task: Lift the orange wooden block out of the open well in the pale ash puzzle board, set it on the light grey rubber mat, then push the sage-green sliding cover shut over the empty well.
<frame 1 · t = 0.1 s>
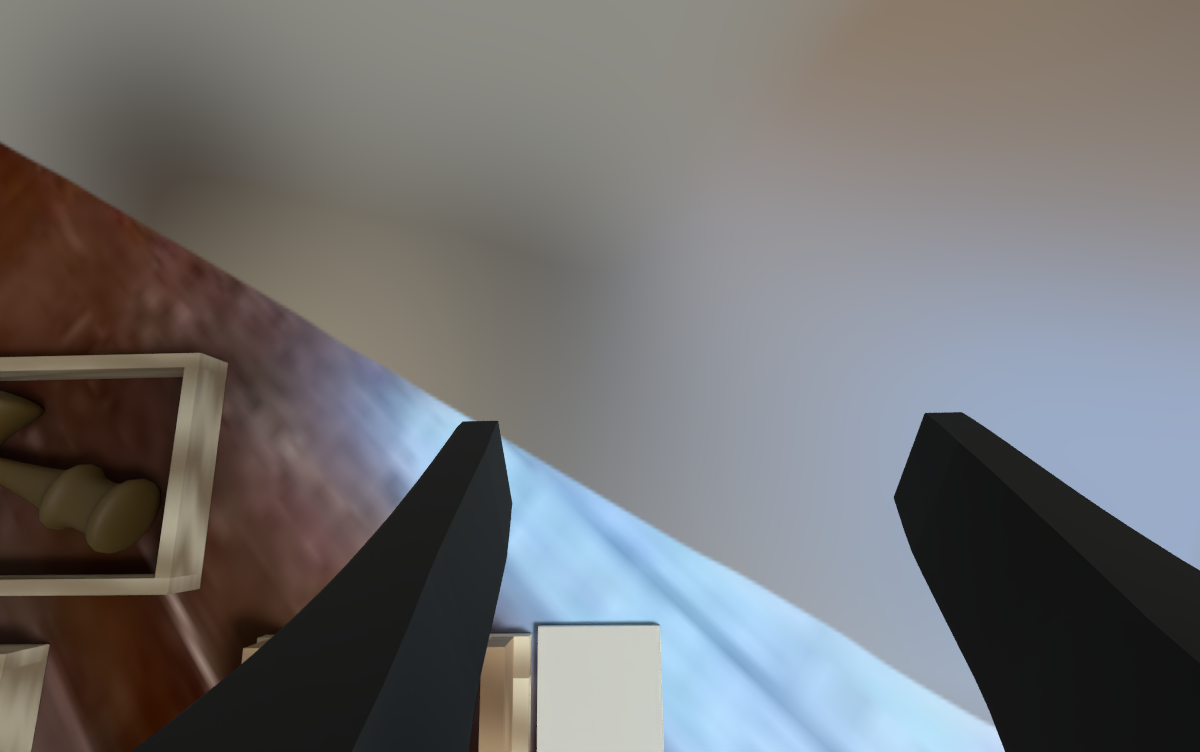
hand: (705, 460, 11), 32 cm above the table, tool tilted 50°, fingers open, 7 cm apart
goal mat: (600, 707, 39), on the table
kendama: (46, 474, 44), on the table
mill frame: (39, 474, 44), on the table
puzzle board: (392, 733, 39), on the table
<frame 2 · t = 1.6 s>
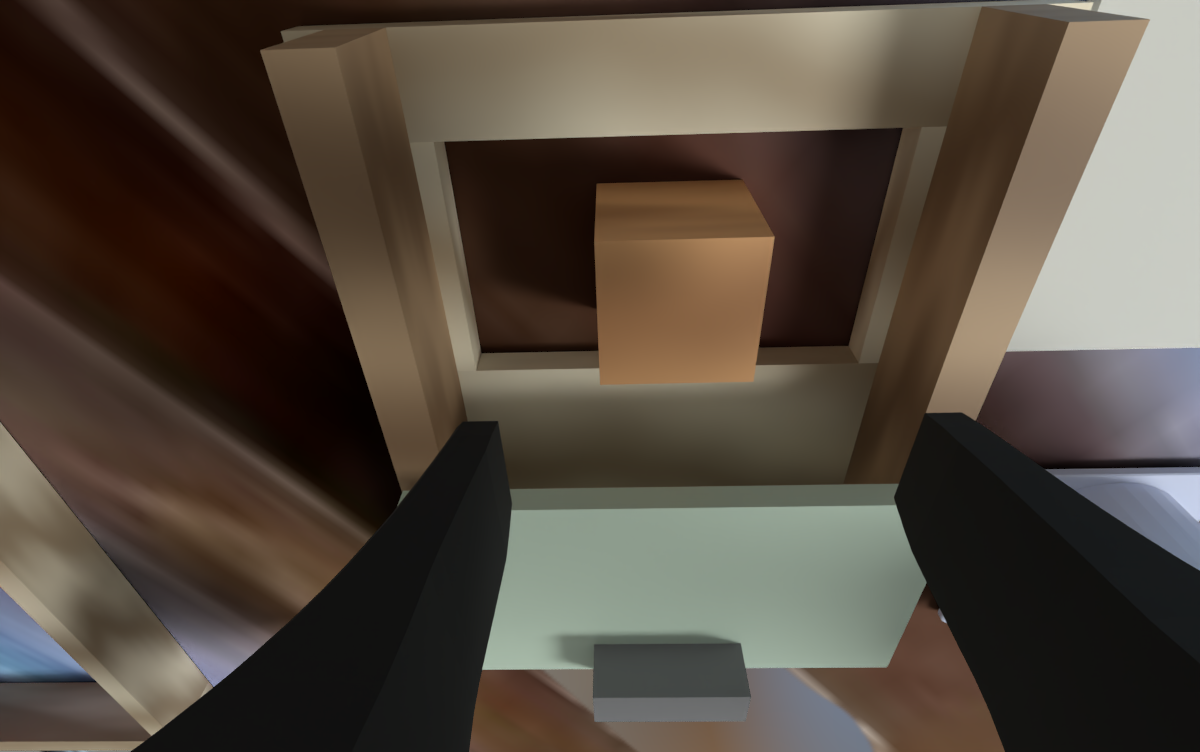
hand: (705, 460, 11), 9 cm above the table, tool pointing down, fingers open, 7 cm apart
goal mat: (1164, 186, 16), on the table
slide cover: (671, 612, 19), point 6 cm above the table, slide at -9.5 cm
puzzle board: (667, 250, 18), on the table
wooden block: (666, 248, 18), on the table
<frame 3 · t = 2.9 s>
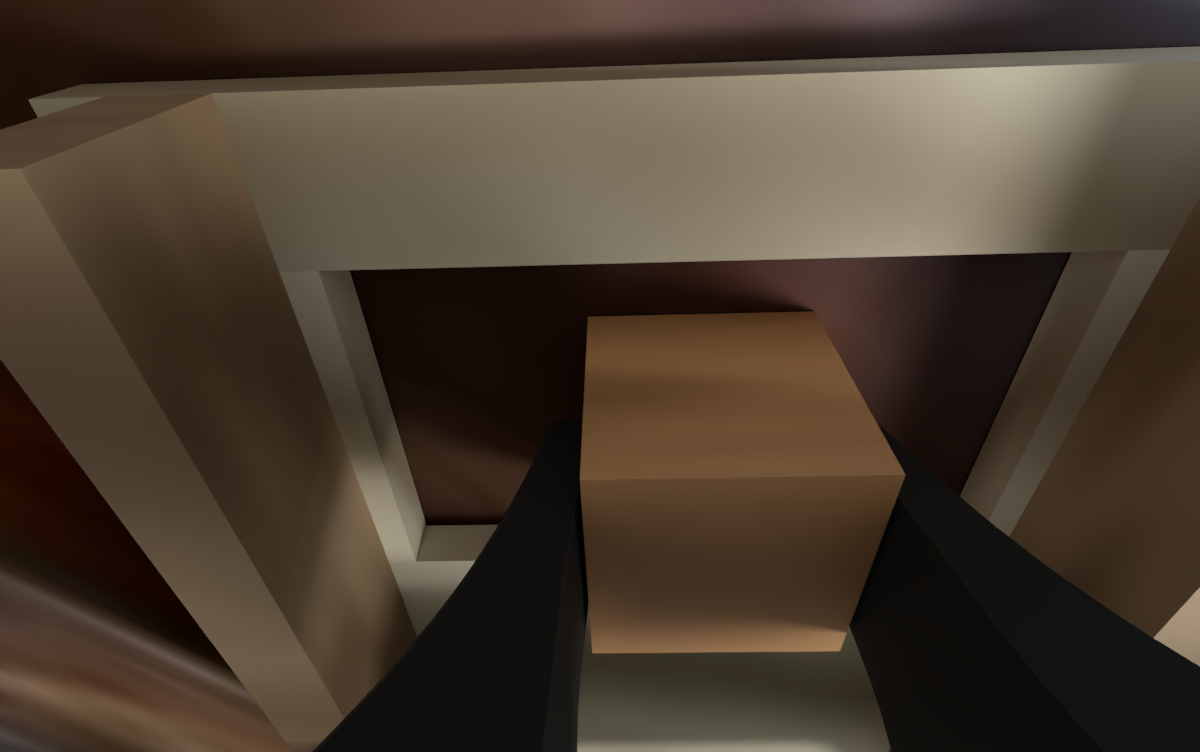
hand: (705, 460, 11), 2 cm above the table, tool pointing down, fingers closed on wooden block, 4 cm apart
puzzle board: (694, 403, 12), on the table
wooden block: (693, 402, 12), on the table, touching gripper
when the fingers open (4 cm above the table, at t = 6.3 s): wooden block drops 1 cm, resting on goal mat.
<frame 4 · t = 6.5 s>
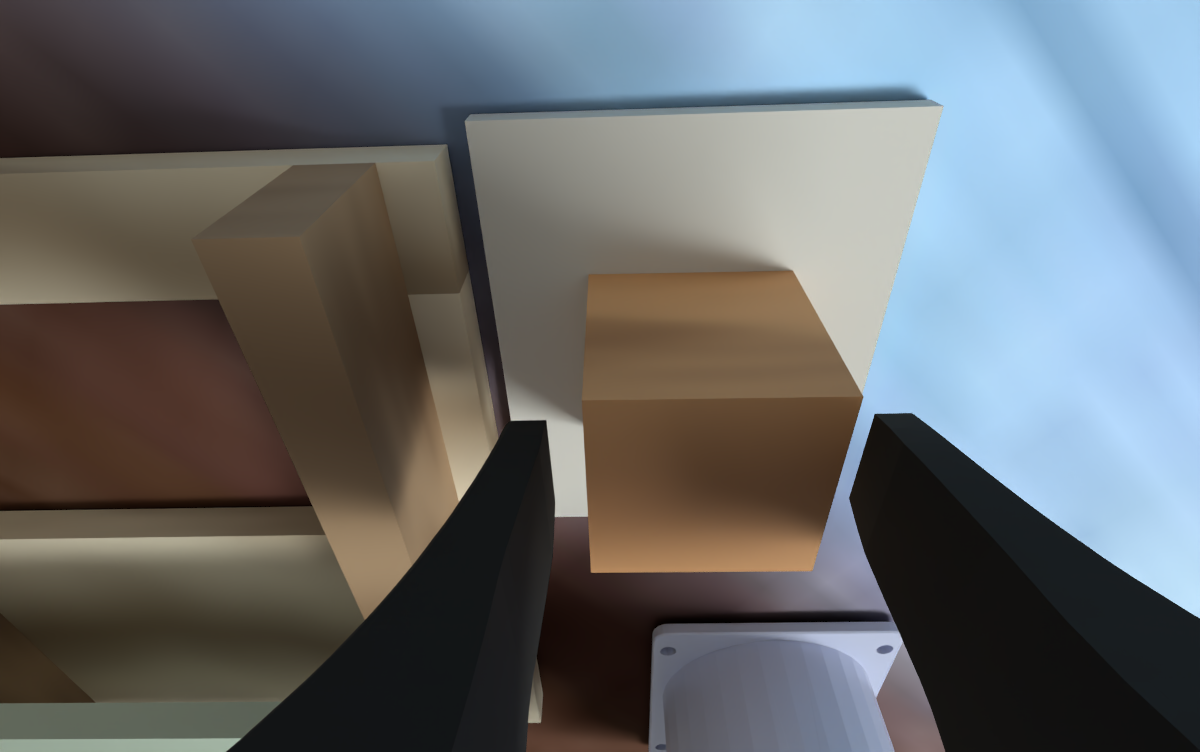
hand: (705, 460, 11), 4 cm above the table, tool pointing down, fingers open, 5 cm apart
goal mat: (683, 346, 13), on the table
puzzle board: (124, 410, 15), on the table
wooden block: (684, 356, 13), resting on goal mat
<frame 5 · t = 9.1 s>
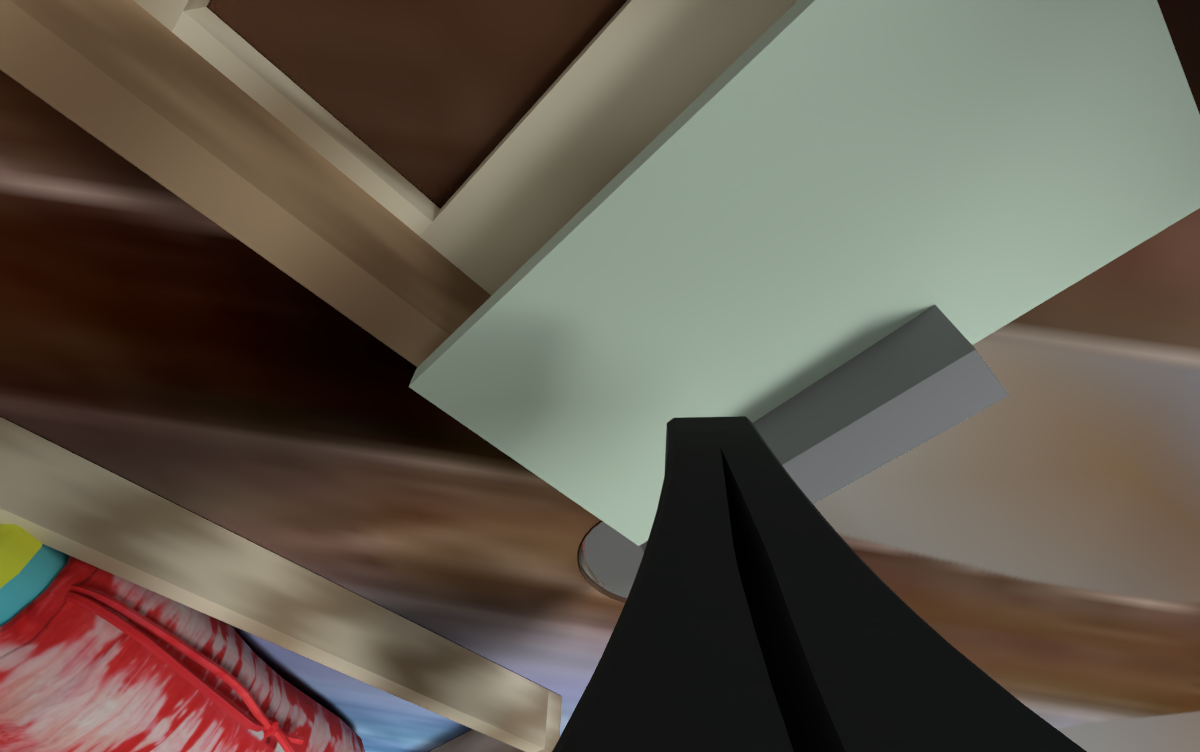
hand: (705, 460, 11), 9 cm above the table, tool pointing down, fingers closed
bottle frame: (226, 648, 31), on the table
slide cover: (778, 310, 13), point 6 cm above the table, slide at -9.5 cm
wine glass: (657, 554, 27), on the table
water bottle: (207, 638, 31), on the table, touching bottle frame
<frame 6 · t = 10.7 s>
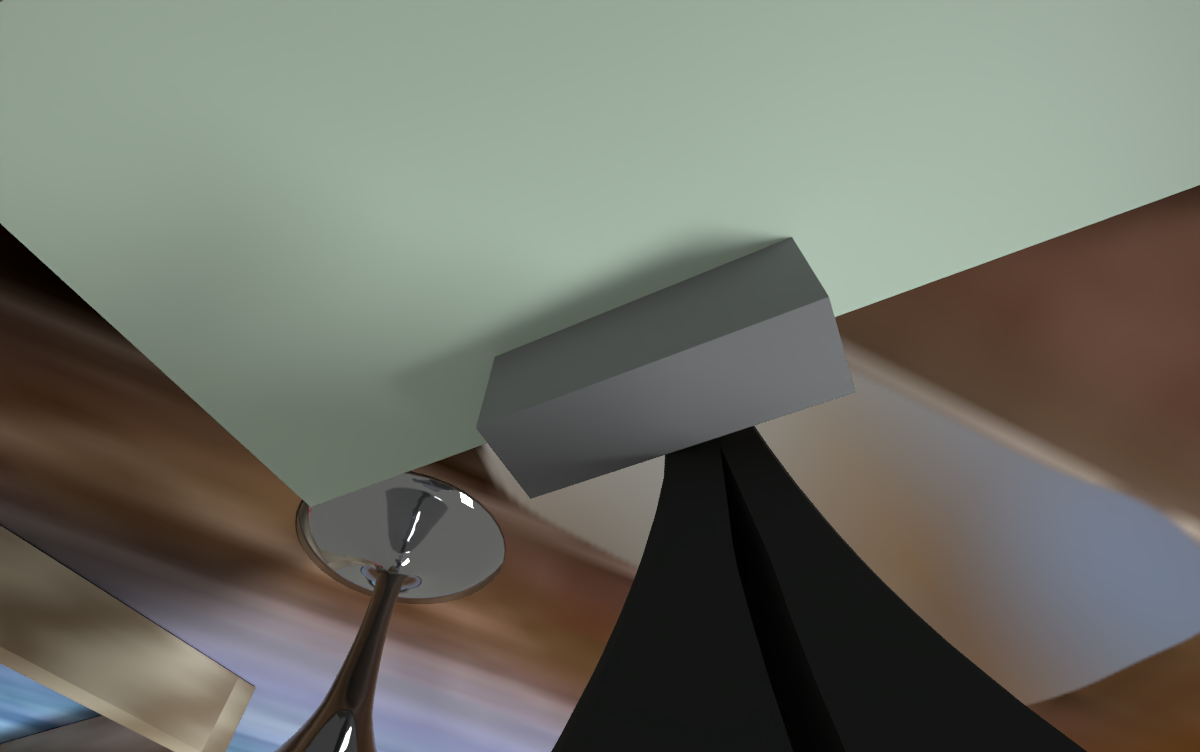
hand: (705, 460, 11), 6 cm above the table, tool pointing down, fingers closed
slide cover: (553, 155, 8), point 6 cm above the table, slide at -9.3 cm, touching gripper
wine glass: (404, 538, 21), on the table
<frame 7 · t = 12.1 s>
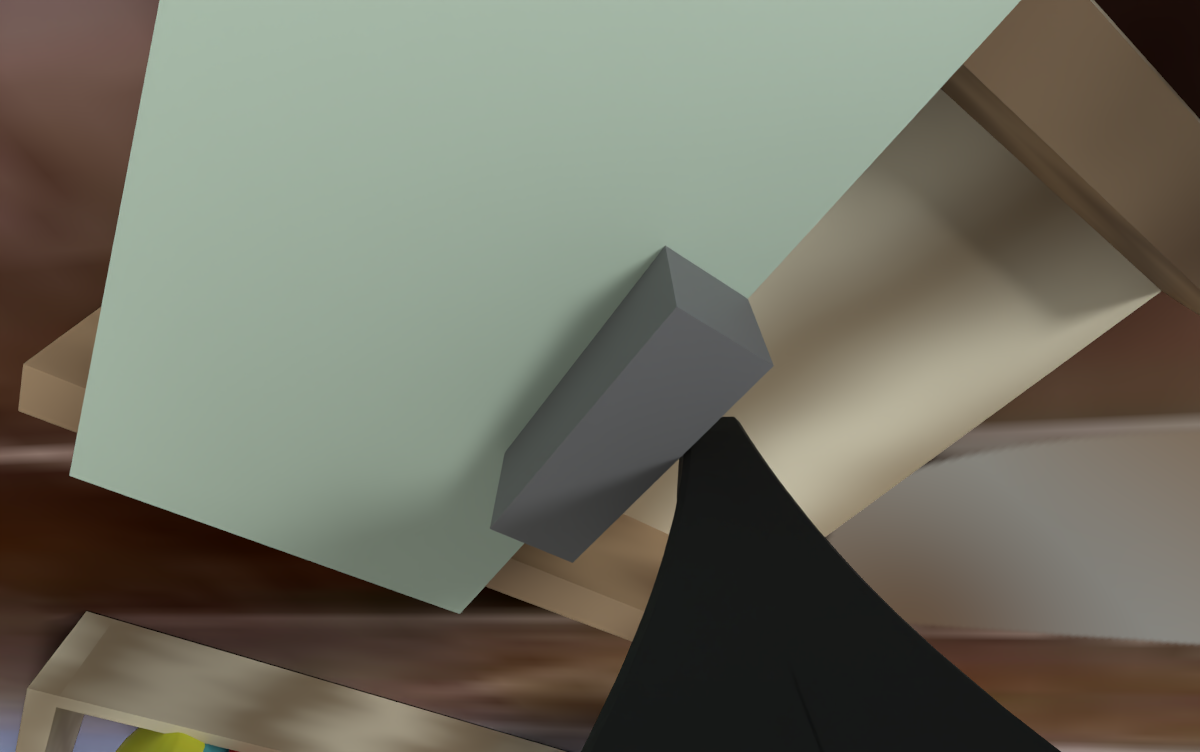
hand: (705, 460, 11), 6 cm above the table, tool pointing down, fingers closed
slide cover: (423, 300, 9), point 6 cm above the table, slide at 0.2 cm, touching gripper
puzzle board: (493, 179, 14), on the table
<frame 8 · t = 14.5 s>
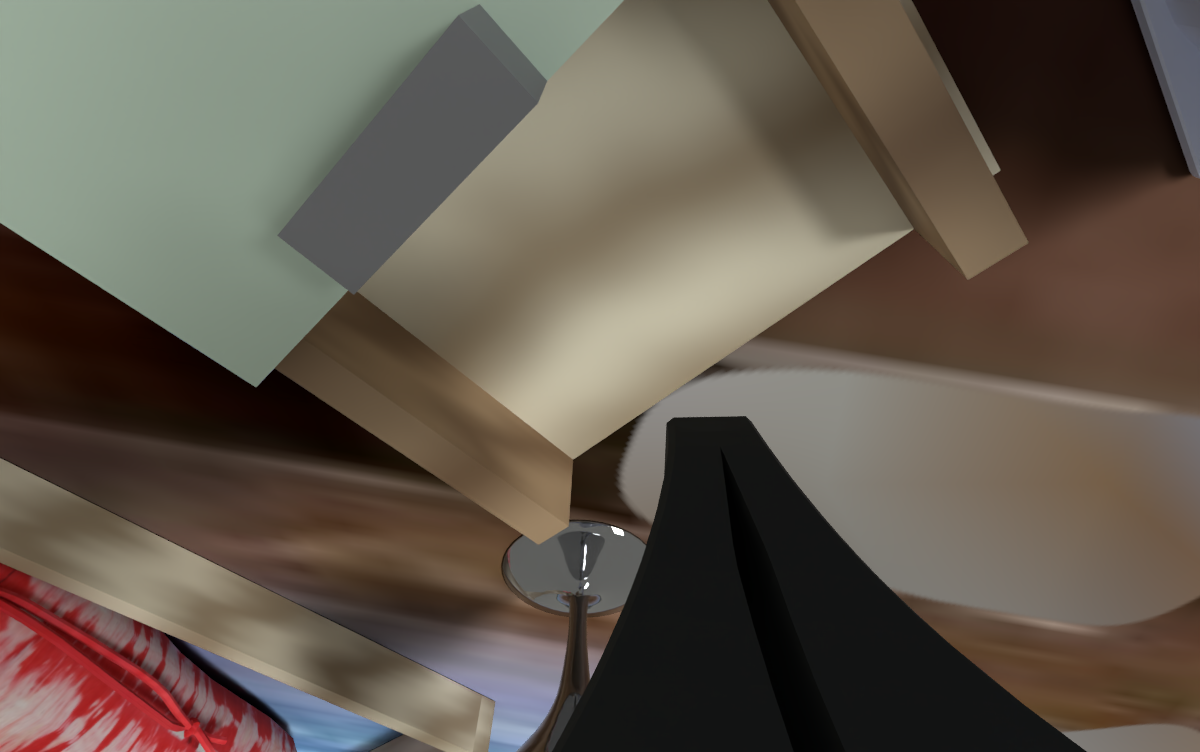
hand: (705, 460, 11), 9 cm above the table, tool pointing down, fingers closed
bottle frame: (161, 648, 32), on the table
wine glass: (580, 568, 28), on the table
water bottle: (137, 637, 31), on the table, touching bottle frame
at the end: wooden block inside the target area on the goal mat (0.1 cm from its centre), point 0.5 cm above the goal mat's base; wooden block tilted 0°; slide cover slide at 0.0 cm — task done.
